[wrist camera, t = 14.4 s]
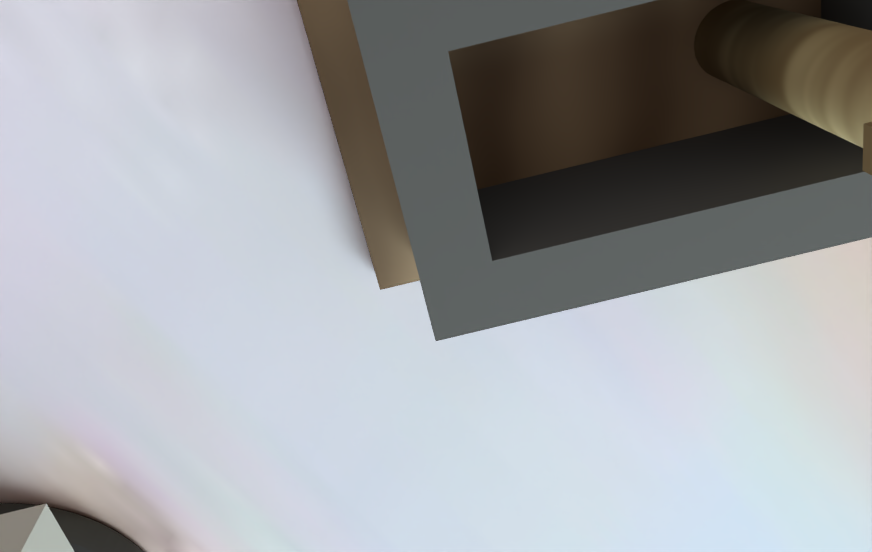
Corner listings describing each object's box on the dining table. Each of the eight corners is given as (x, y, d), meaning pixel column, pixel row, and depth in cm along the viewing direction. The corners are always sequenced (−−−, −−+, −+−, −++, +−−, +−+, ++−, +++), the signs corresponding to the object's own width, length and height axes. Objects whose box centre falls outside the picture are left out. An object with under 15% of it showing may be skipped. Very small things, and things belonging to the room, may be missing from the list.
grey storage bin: (421, 259, 33) (435, 341, 27) (346, -34, 28) (342, -17, 22) (878, 149, 33) (1001, 206, 27) (888, -168, 28) (1043, -190, 22)
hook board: (379, 275, 35) (392, 529, 21) (286, -53, 29) (212, -14, 15) (900, 149, 35) (1282, 320, 20) (916, -210, 29) (1475, -328, 14)
